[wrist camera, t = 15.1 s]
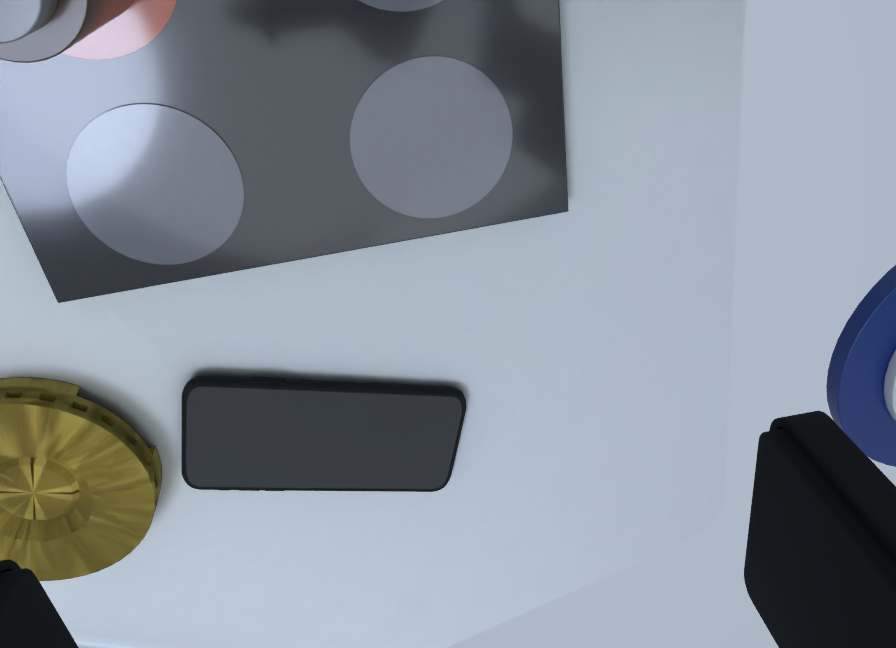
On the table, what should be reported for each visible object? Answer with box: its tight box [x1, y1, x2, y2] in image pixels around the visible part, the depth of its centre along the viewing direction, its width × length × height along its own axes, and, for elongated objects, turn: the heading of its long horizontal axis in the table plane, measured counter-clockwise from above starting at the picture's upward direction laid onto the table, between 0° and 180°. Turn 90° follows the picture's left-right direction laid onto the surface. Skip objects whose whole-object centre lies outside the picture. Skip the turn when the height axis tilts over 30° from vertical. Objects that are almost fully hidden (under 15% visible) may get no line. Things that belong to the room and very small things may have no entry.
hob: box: [0, 0, 568, 303], centre depth 30 cm, size 24×18×1 cm
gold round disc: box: [0, 378, 162, 581], centre depth 39 cm, size 12×12×2 cm
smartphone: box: [182, 376, 466, 492], centre depth 41 cm, size 7×1×15 cm
